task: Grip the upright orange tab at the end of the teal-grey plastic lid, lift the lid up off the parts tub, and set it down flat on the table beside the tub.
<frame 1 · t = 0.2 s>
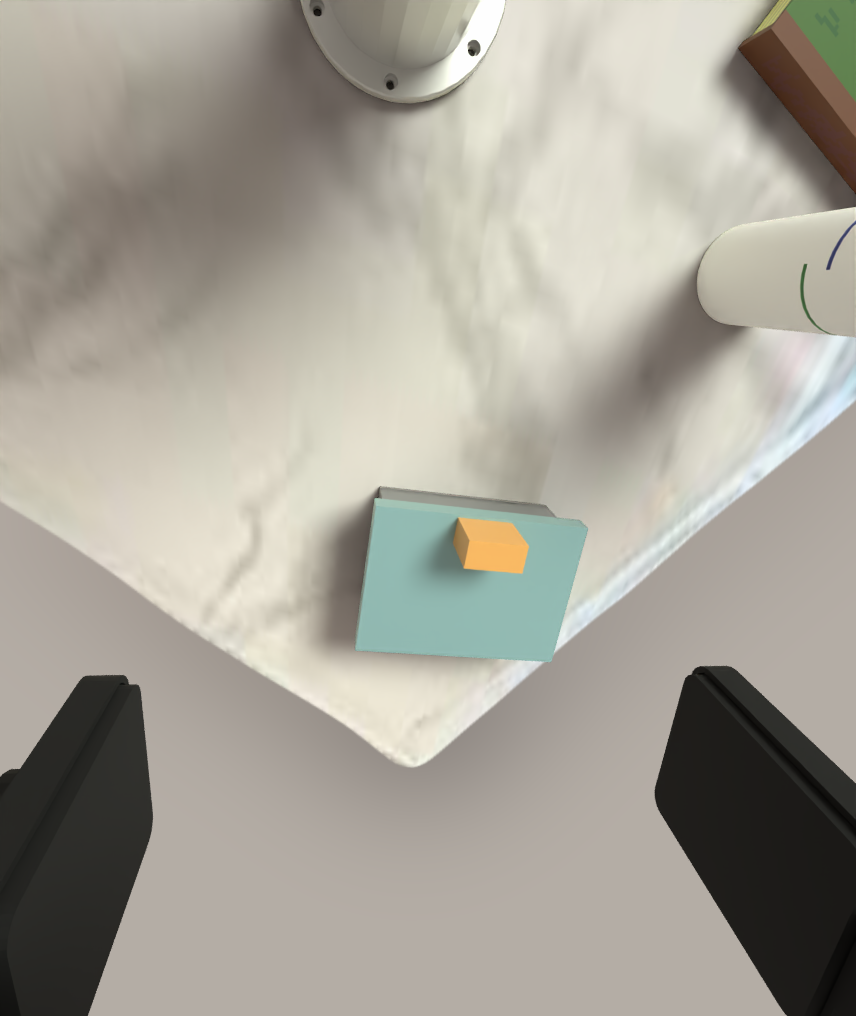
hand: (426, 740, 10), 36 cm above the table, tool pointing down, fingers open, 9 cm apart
cylindrical container: (739, 275, 44), on the table
tub: (453, 551, 49), on the table
lid: (468, 584, 44), point 6 cm above the table, touching tub
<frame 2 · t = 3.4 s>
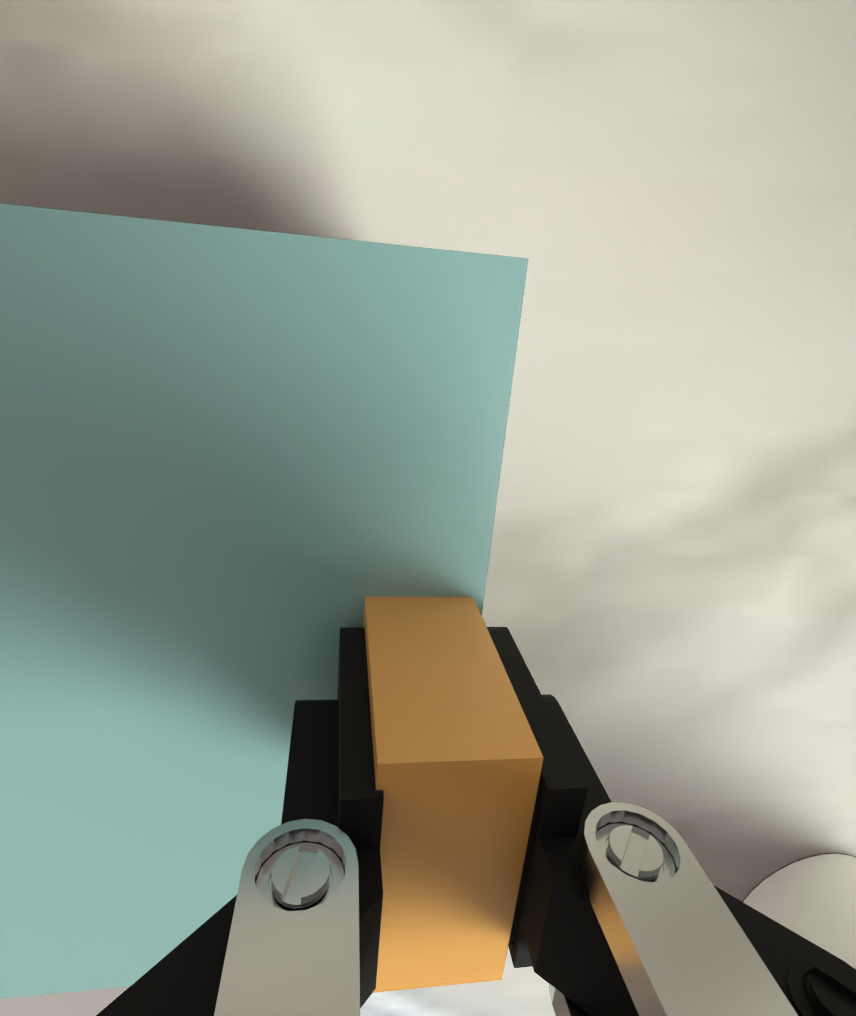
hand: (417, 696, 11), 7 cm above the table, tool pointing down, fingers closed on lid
cylindrical container: (801, 906, 27), on the table
lid: (171, 666, 11), point 6 cm above the table, touching gripper
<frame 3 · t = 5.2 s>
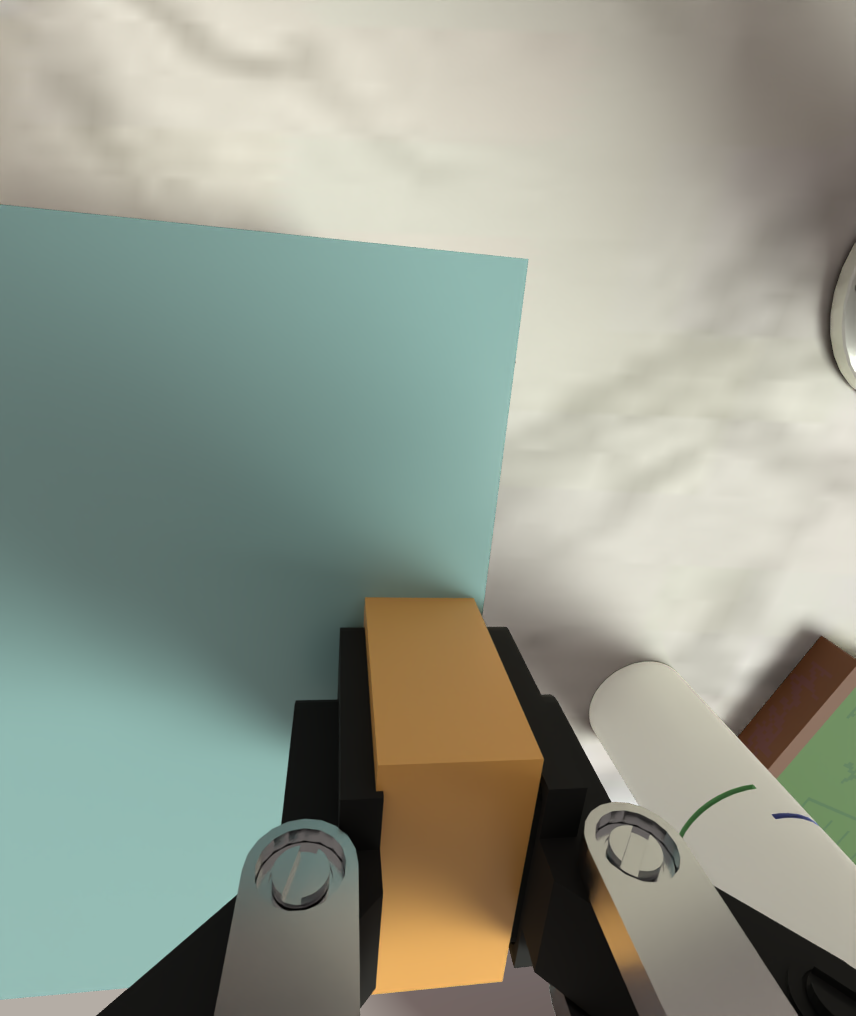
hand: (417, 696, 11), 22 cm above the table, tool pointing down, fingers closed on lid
cylindrical container: (636, 703, 41), on the table
hardcover book: (789, 793, 47), on the table
lid: (171, 667, 11), point 21 cm above the table, touching gripper
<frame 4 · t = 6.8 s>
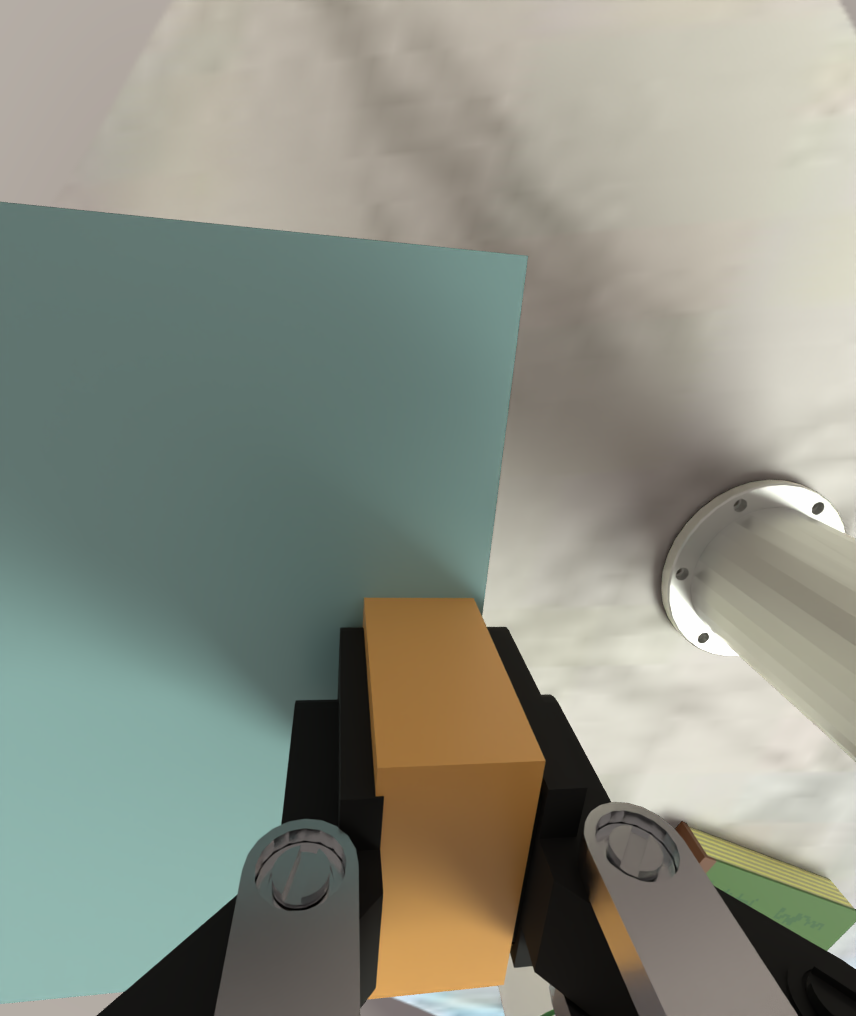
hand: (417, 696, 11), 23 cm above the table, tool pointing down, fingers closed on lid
cylindrical container: (519, 878, 47), on the table
hardcover book: (670, 939, 53), on the table
lid: (169, 669, 11), point 22 cm above the table, touching gripper
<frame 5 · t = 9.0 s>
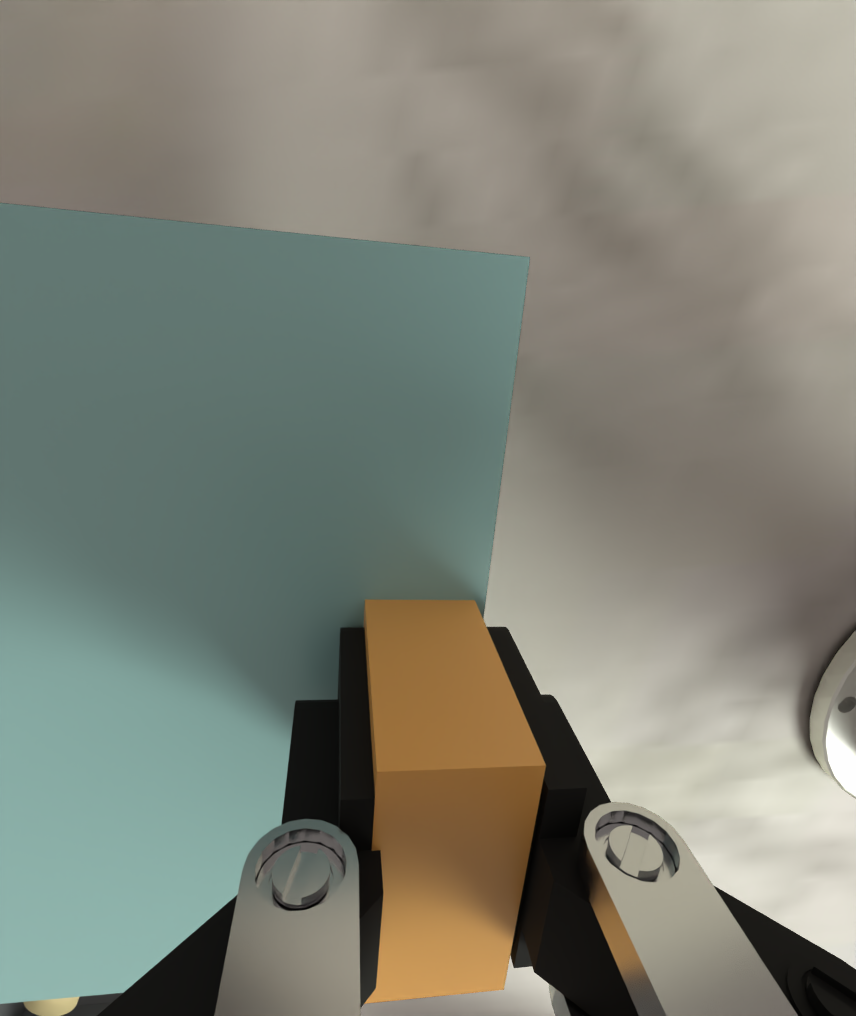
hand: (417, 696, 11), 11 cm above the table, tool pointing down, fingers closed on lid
tub: (118, 887, 25), on the table
lid: (170, 670, 11), point 10 cm above the table, touching gripper
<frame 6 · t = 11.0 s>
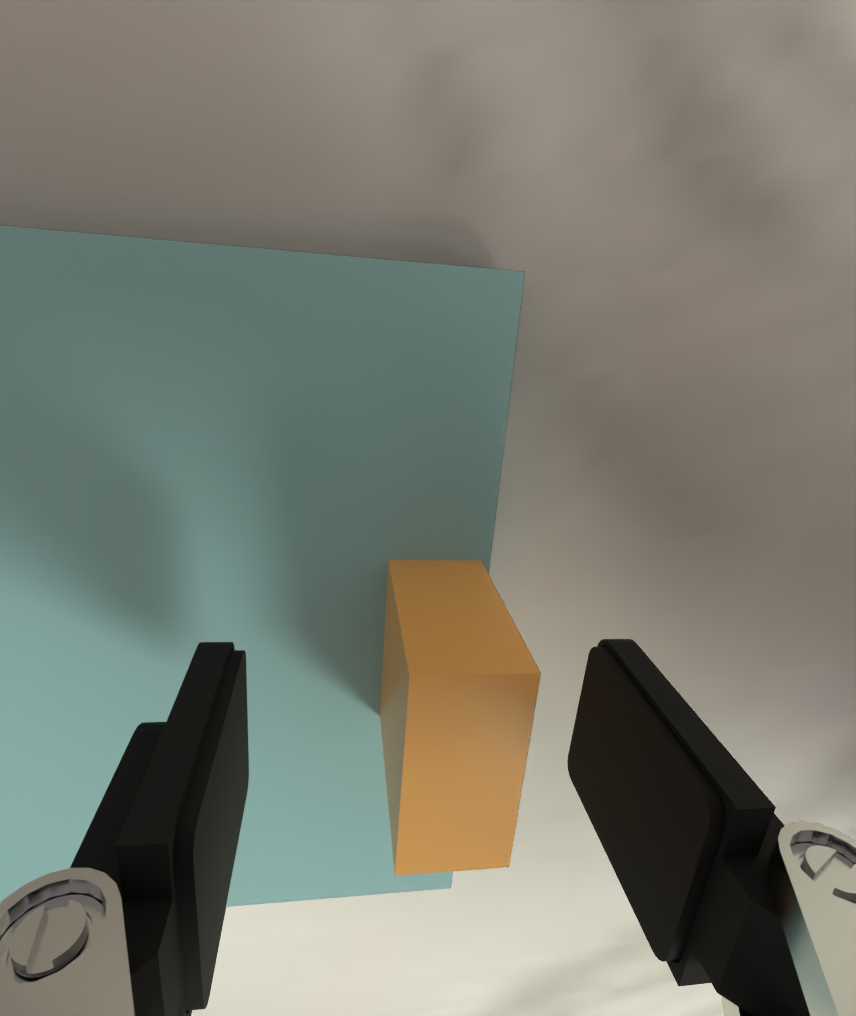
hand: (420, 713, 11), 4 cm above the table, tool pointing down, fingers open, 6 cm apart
lid: (221, 624, 13), point 1 cm above the table
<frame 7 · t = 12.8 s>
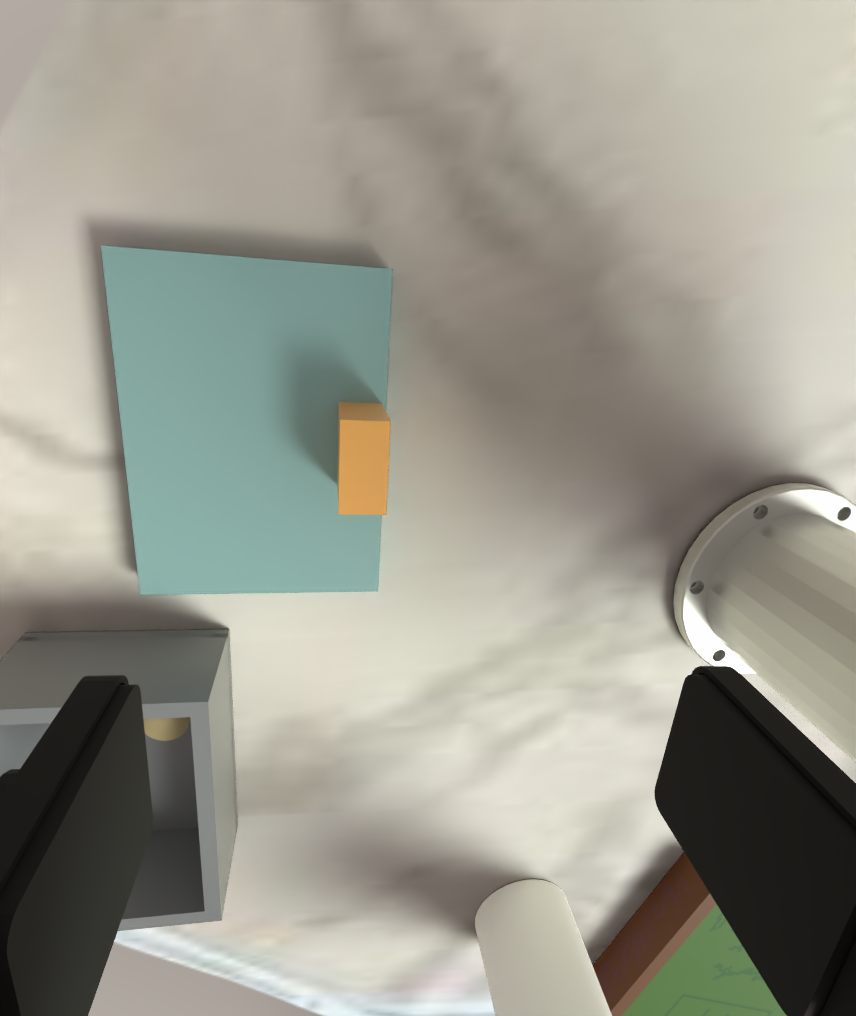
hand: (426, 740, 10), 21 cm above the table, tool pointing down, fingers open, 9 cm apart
cylindrical container: (520, 911, 44), on the table
tub: (142, 737, 33), on the table
hardcover book: (680, 966, 50), on the table
lid: (260, 437, 27), point 1 cm above the table
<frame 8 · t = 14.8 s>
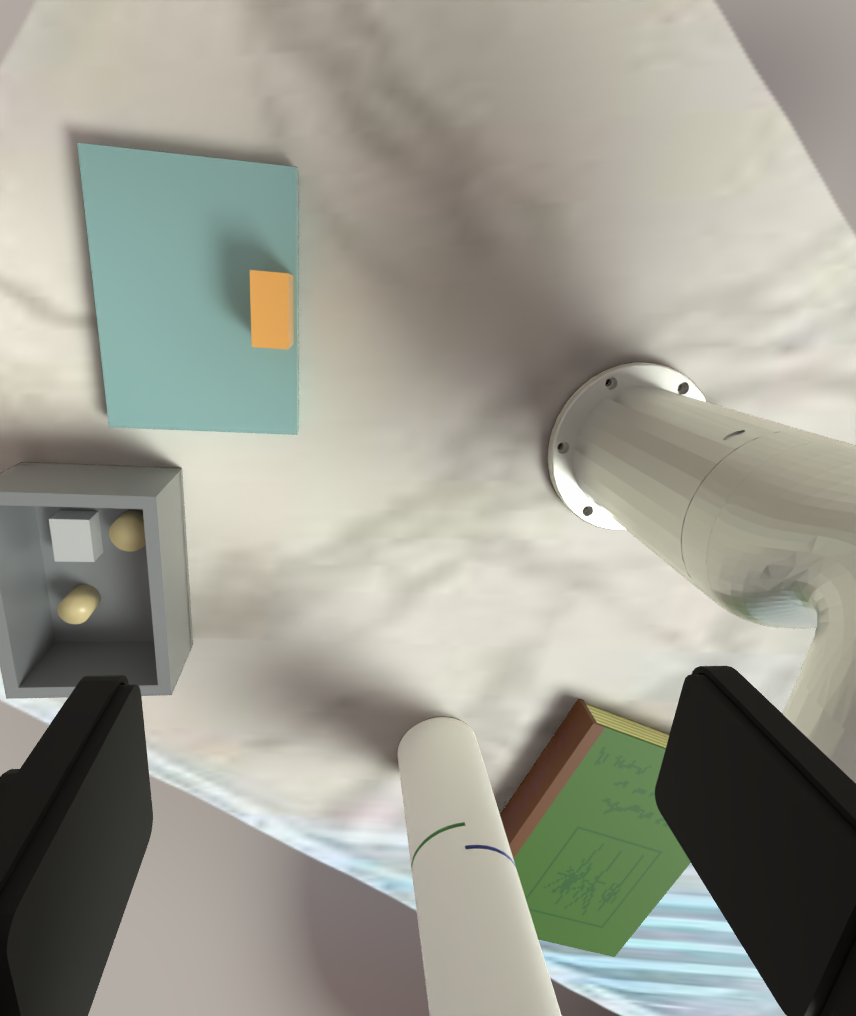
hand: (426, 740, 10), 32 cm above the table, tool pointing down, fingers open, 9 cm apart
cylindrical container: (437, 748, 51), on the table
tub: (113, 560, 41), on the table
hardcover book: (586, 819, 58), on the table
lid: (201, 303, 36), point 1 cm above the table
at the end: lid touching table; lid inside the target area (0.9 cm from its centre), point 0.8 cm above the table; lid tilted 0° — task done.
